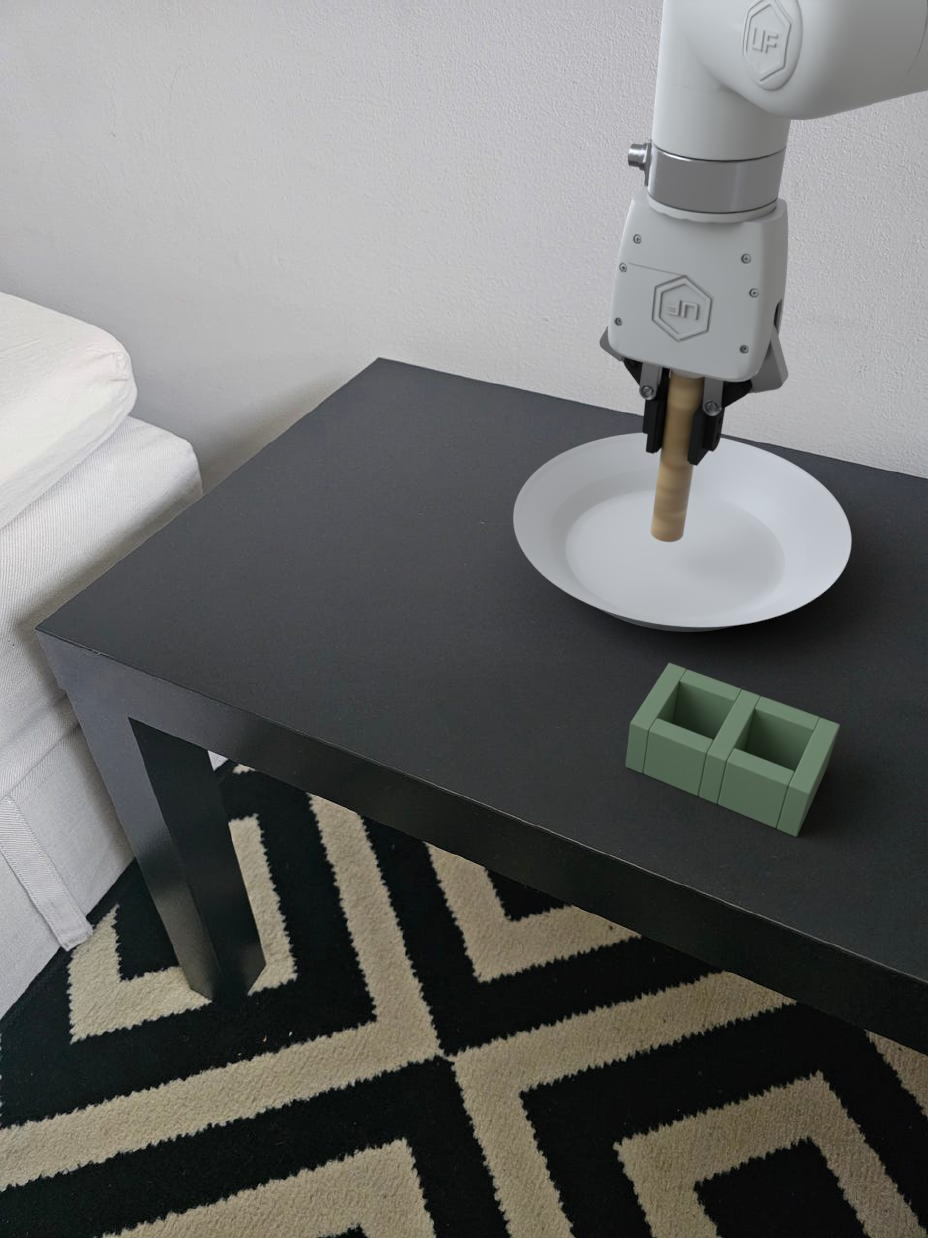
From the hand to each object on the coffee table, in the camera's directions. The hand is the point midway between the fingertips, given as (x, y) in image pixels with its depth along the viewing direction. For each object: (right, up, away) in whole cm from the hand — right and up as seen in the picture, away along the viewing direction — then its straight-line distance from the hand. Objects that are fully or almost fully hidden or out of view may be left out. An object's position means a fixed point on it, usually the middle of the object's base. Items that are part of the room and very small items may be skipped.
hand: (679, 447), depth 70 cm
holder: (+1, -21, -8) cm, 23 cm away
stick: (0, -6, +4) cm, 7 cm away
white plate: (+1, -7, +9) cm, 11 cm away
